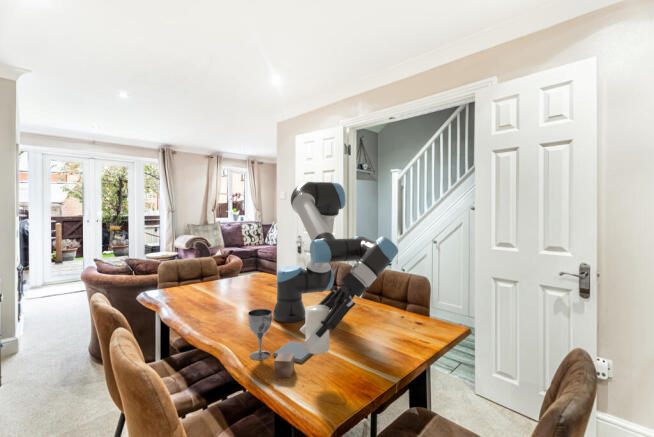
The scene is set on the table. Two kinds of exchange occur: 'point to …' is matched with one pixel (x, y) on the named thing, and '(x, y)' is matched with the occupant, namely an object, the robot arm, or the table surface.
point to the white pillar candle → (311, 322)
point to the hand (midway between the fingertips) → (305, 338)
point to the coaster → (294, 351)
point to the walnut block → (284, 365)
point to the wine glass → (260, 329)
